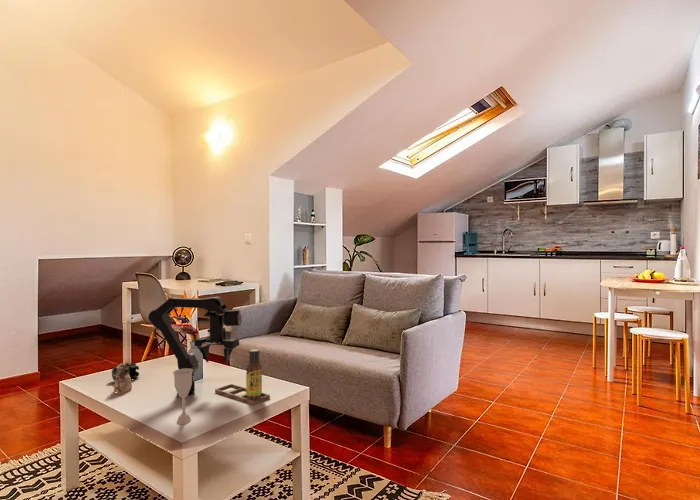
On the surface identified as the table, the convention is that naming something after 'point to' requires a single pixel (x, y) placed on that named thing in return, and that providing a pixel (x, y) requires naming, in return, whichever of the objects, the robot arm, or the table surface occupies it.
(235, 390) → the brown compartment tray
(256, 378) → the sauce bottle
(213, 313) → the robot arm
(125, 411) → the table surface
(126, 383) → the figurine
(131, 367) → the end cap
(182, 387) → the chalice
